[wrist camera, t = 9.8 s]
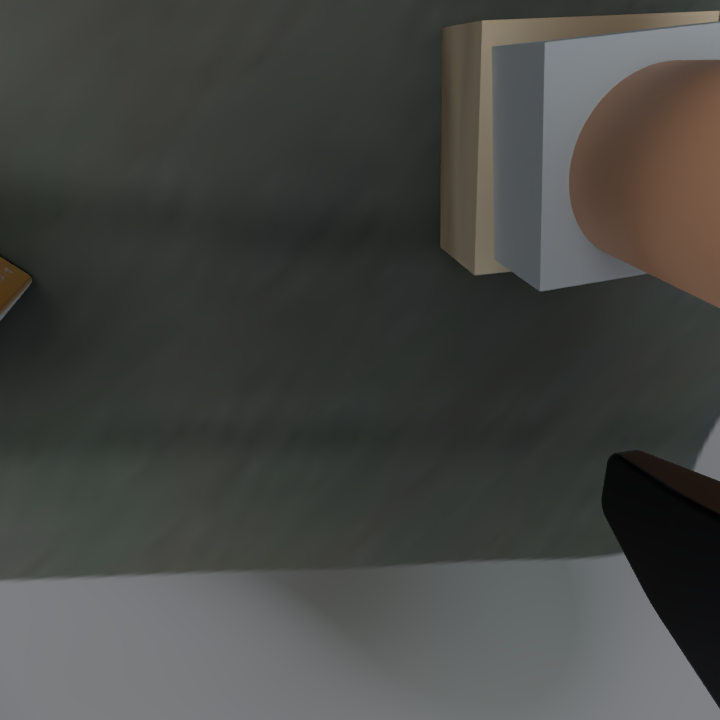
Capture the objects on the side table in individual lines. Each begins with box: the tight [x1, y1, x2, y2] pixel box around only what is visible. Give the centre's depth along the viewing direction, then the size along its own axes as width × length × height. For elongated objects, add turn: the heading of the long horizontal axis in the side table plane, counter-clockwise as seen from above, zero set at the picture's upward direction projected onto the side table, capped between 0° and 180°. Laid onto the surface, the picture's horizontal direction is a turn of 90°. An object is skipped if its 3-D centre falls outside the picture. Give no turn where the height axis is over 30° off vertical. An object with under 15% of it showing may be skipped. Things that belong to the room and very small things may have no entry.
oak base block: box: [440, 11, 720, 275], centre depth 19 cm, size 6×6×4 cm
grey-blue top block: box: [492, 21, 720, 292], centre depth 16 cm, size 6×6×3 cm
